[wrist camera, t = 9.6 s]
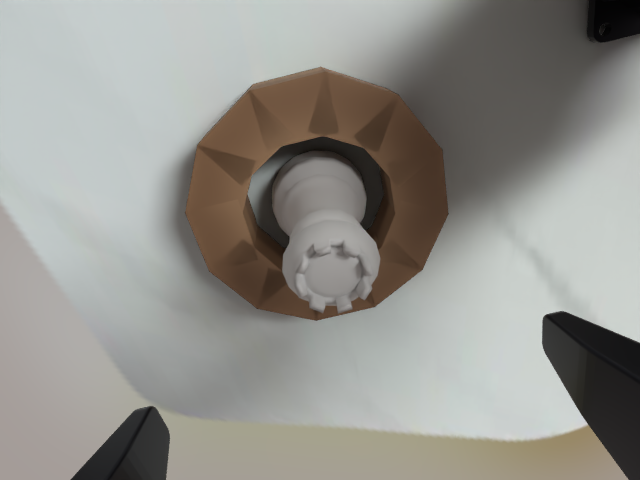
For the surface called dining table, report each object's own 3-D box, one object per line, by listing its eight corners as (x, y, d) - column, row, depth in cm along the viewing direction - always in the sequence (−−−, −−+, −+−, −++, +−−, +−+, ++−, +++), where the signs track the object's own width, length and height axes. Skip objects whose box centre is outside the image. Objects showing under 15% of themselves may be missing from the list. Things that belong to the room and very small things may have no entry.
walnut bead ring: (414, 42, 17) (432, 43, 15) (439, 263, 22) (455, 288, 20) (162, 107, 18) (145, 116, 16) (241, 310, 23) (236, 339, 21)
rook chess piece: (324, 250, 21) (343, 358, 14) (253, 201, 20) (233, 294, 13) (382, 184, 20) (434, 267, 13) (309, 127, 19) (323, 184, 11)
